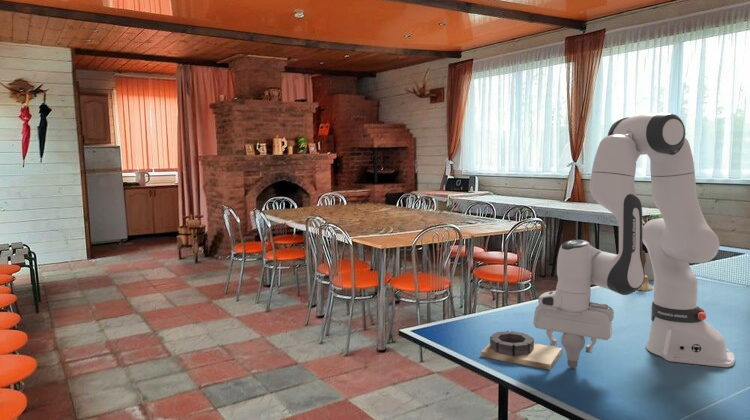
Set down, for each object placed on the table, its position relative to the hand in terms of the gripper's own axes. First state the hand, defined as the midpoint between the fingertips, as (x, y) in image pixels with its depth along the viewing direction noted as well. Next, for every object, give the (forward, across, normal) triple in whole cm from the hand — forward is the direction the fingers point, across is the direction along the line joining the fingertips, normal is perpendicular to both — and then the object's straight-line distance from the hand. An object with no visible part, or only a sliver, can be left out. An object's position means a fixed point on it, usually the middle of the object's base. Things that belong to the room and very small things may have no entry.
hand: (570, 348), depth 149 cm
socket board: (+6, +14, -3) cm, 16 cm away
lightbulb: (+6, -1, 0) cm, 6 cm away
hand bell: (+5, -8, -100) cm, 101 cm away
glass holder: (+4, -6, -123) cm, 123 cm away
